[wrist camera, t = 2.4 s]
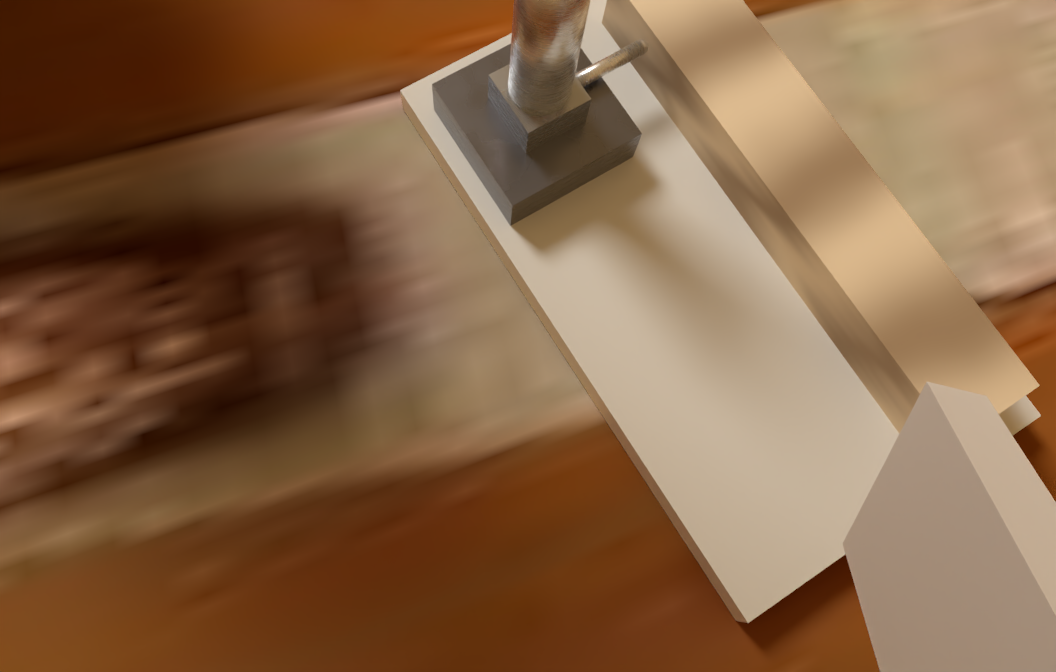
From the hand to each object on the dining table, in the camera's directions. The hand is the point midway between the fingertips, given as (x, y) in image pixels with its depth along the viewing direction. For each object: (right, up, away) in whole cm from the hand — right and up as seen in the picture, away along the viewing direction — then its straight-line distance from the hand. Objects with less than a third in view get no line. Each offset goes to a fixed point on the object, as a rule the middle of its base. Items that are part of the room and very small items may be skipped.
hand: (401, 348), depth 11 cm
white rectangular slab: (+9, +3, +25) cm, 27 cm away
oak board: (+12, +6, +24) cm, 28 cm away
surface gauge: (+3, +9, +25) cm, 27 cm away
